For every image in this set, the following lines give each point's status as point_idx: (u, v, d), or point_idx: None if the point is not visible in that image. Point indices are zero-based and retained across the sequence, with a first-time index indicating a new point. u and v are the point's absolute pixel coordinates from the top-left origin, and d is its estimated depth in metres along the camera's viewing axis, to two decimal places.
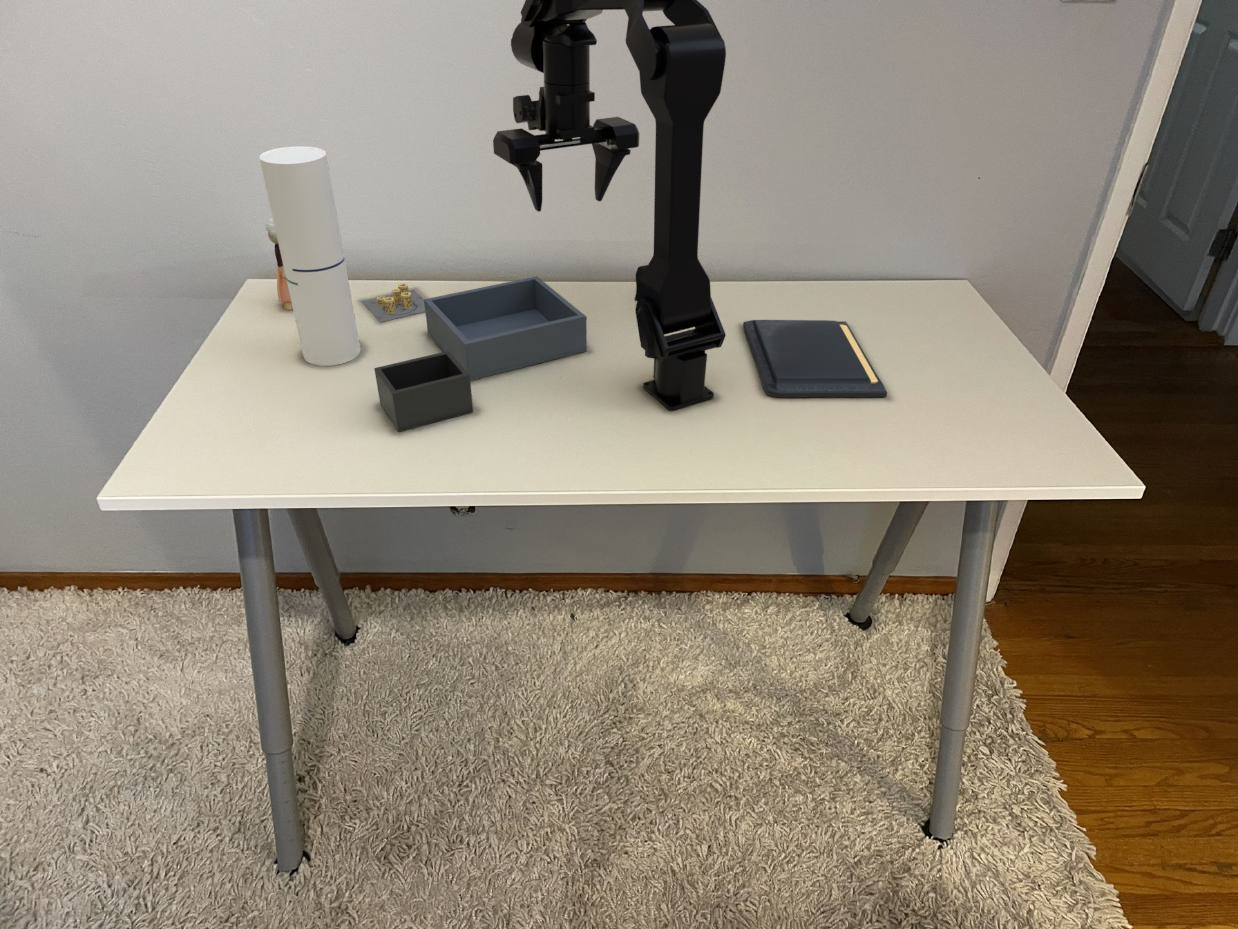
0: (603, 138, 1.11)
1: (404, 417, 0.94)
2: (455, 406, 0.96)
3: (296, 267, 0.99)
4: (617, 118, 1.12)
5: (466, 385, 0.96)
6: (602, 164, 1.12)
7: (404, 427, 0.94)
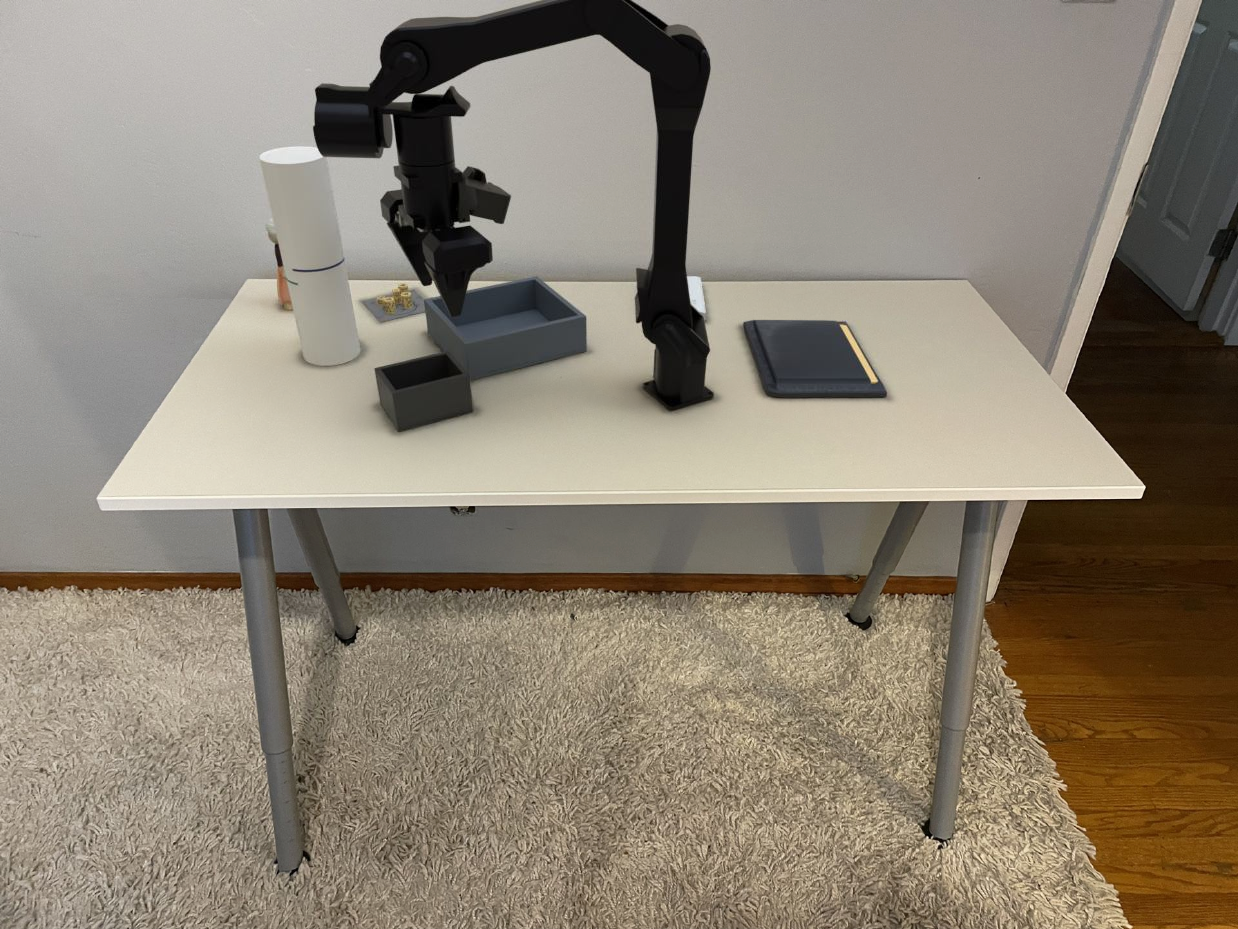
0: None
1: (404, 417, 0.94)
2: (455, 406, 0.96)
3: (296, 267, 0.99)
4: (473, 235, 0.84)
5: (466, 385, 0.96)
6: None
7: (404, 427, 0.94)
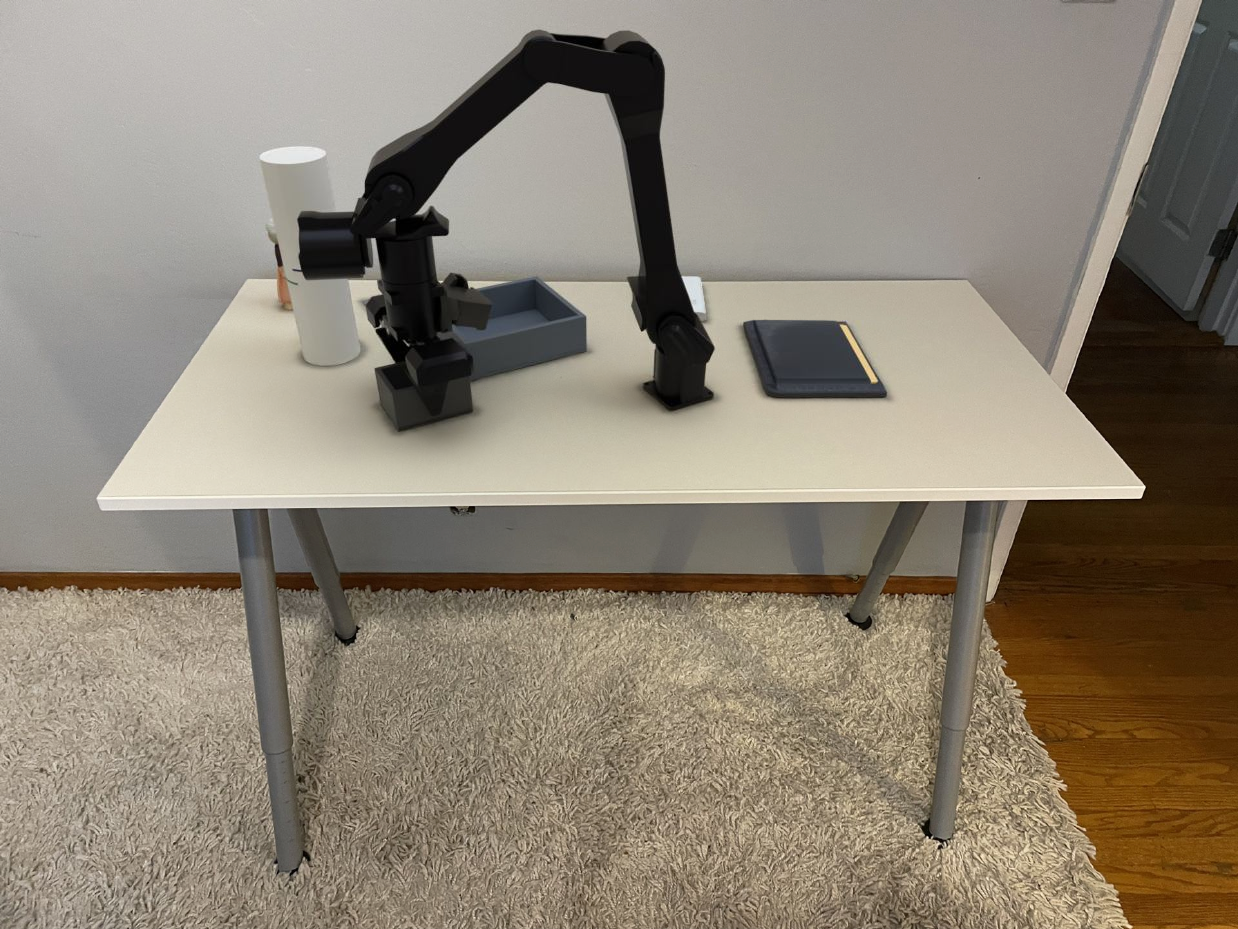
0: None
1: (404, 417, 0.94)
2: (455, 406, 0.96)
3: (296, 267, 0.99)
4: (454, 350, 0.87)
5: (466, 385, 0.96)
6: None
7: (404, 427, 0.94)
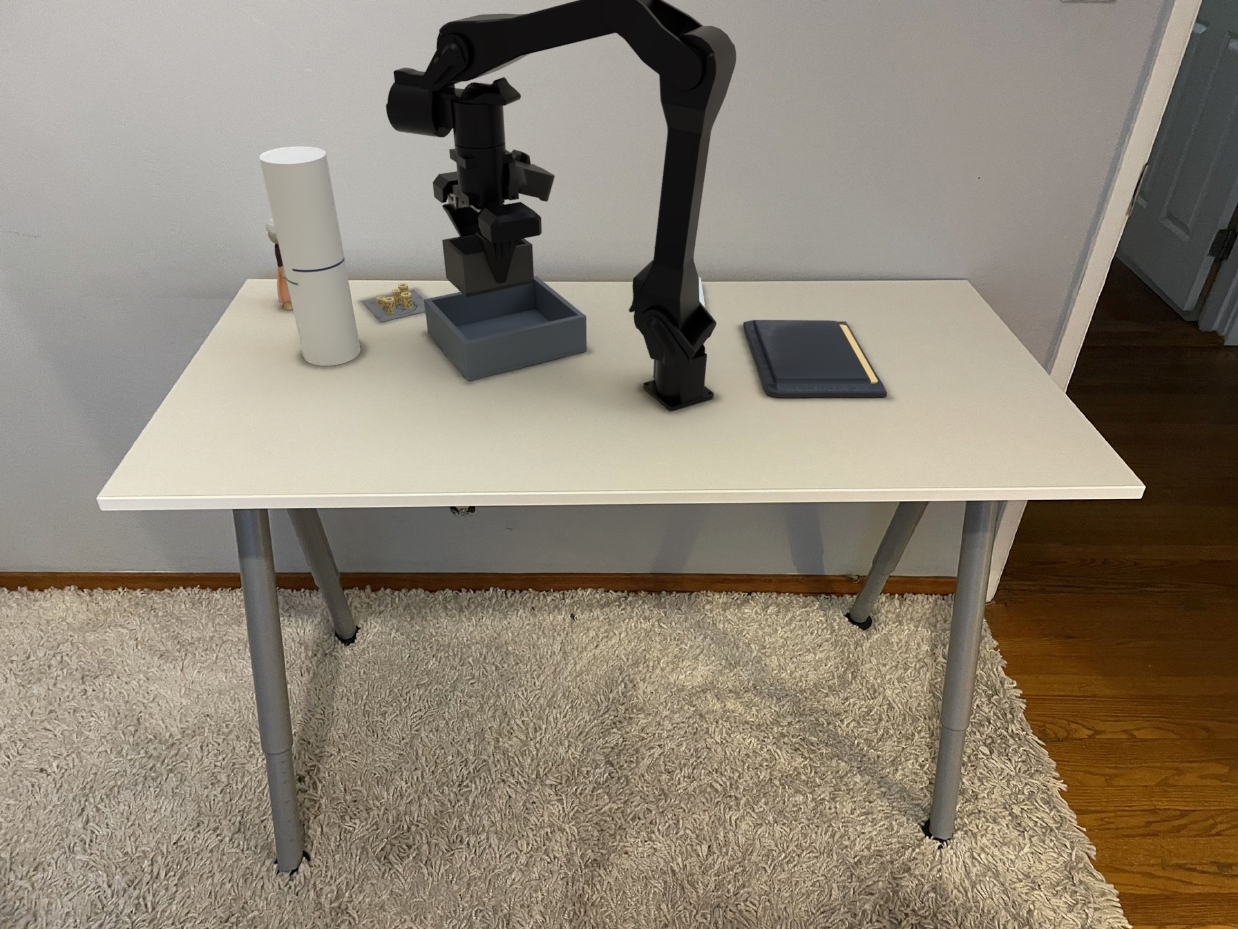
0: None
1: (472, 282, 1.00)
2: (518, 275, 1.02)
3: (296, 267, 0.99)
4: (525, 210, 0.93)
5: (529, 255, 1.02)
6: None
7: (472, 293, 1.00)
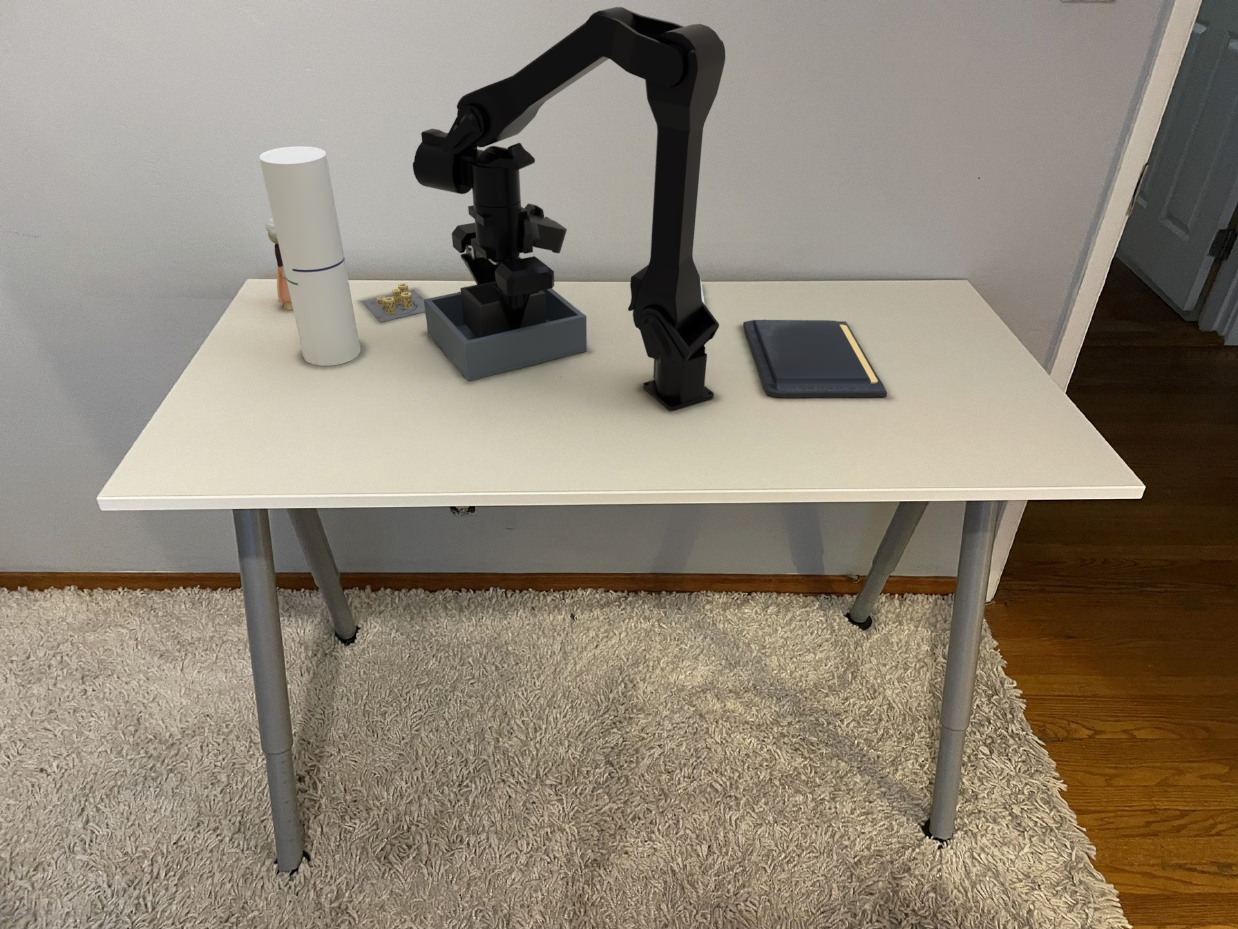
0: None
1: (488, 329, 1.06)
2: (531, 322, 1.09)
3: (296, 267, 0.99)
4: (538, 265, 0.99)
5: (542, 303, 1.08)
6: None
7: None
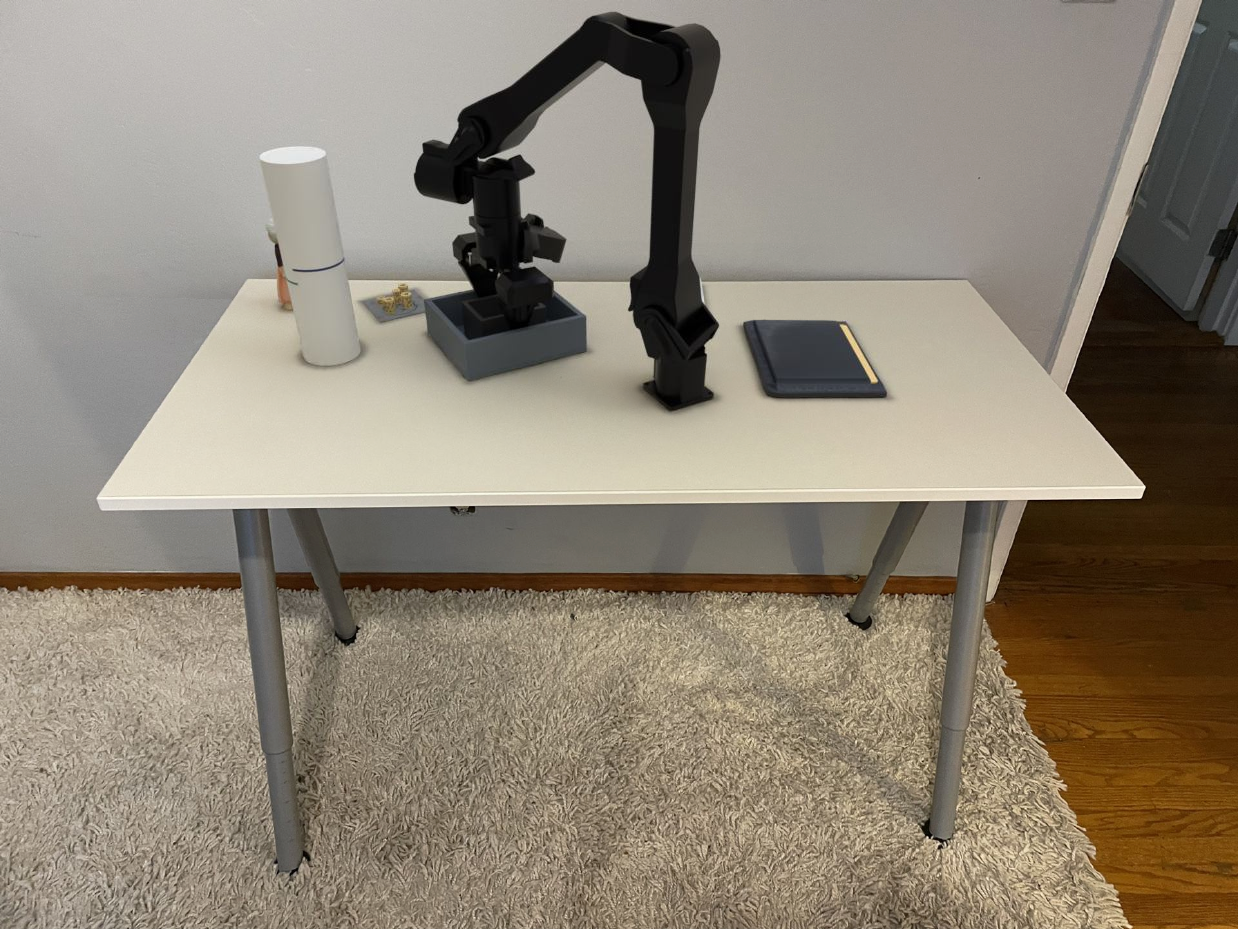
0: None
1: None
2: None
3: (296, 267, 0.99)
4: (538, 275, 1.00)
5: (542, 316, 1.09)
6: None
7: None
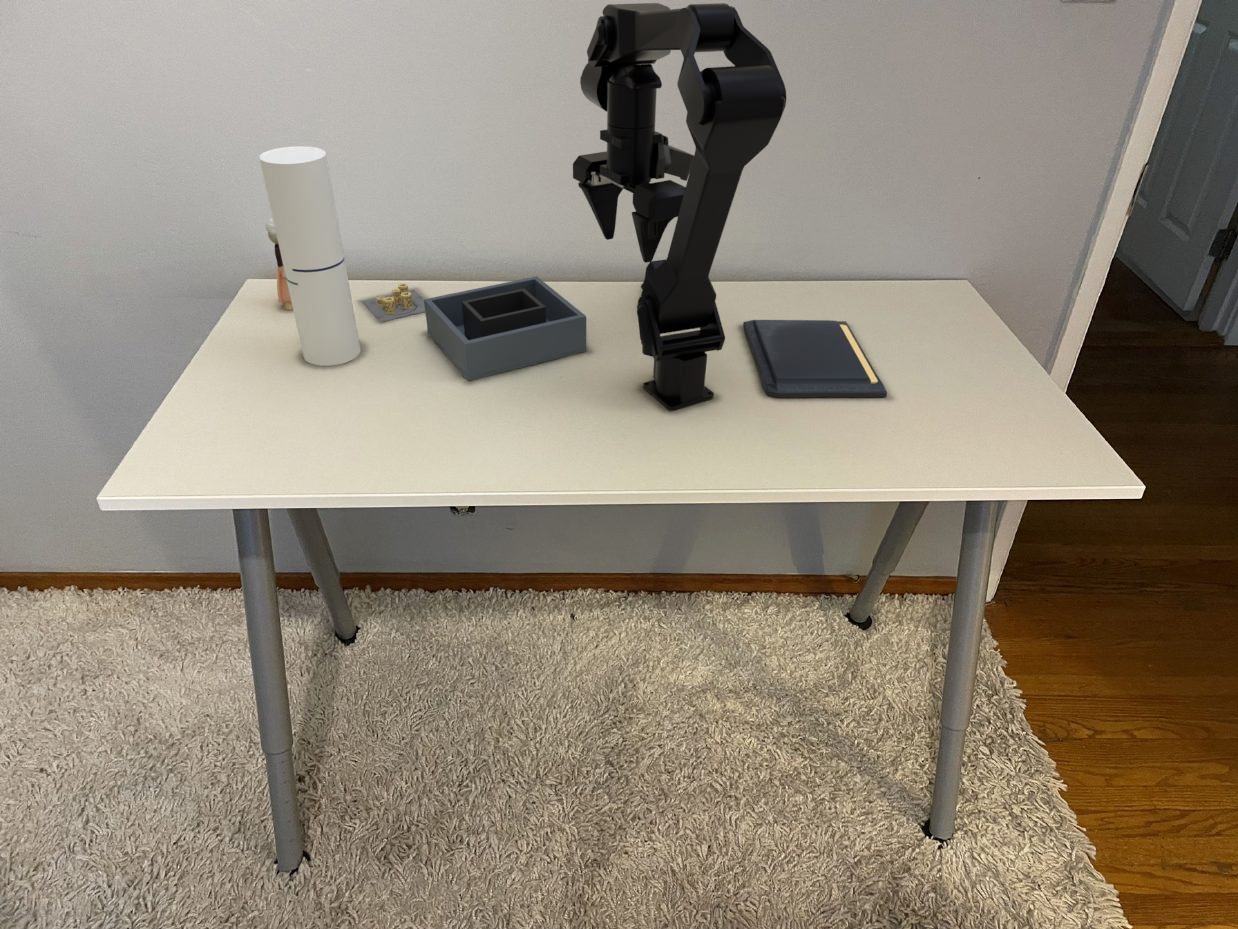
0: None
1: None
2: None
3: (296, 267, 0.99)
4: (678, 187, 0.98)
5: (542, 316, 1.09)
6: None
7: None
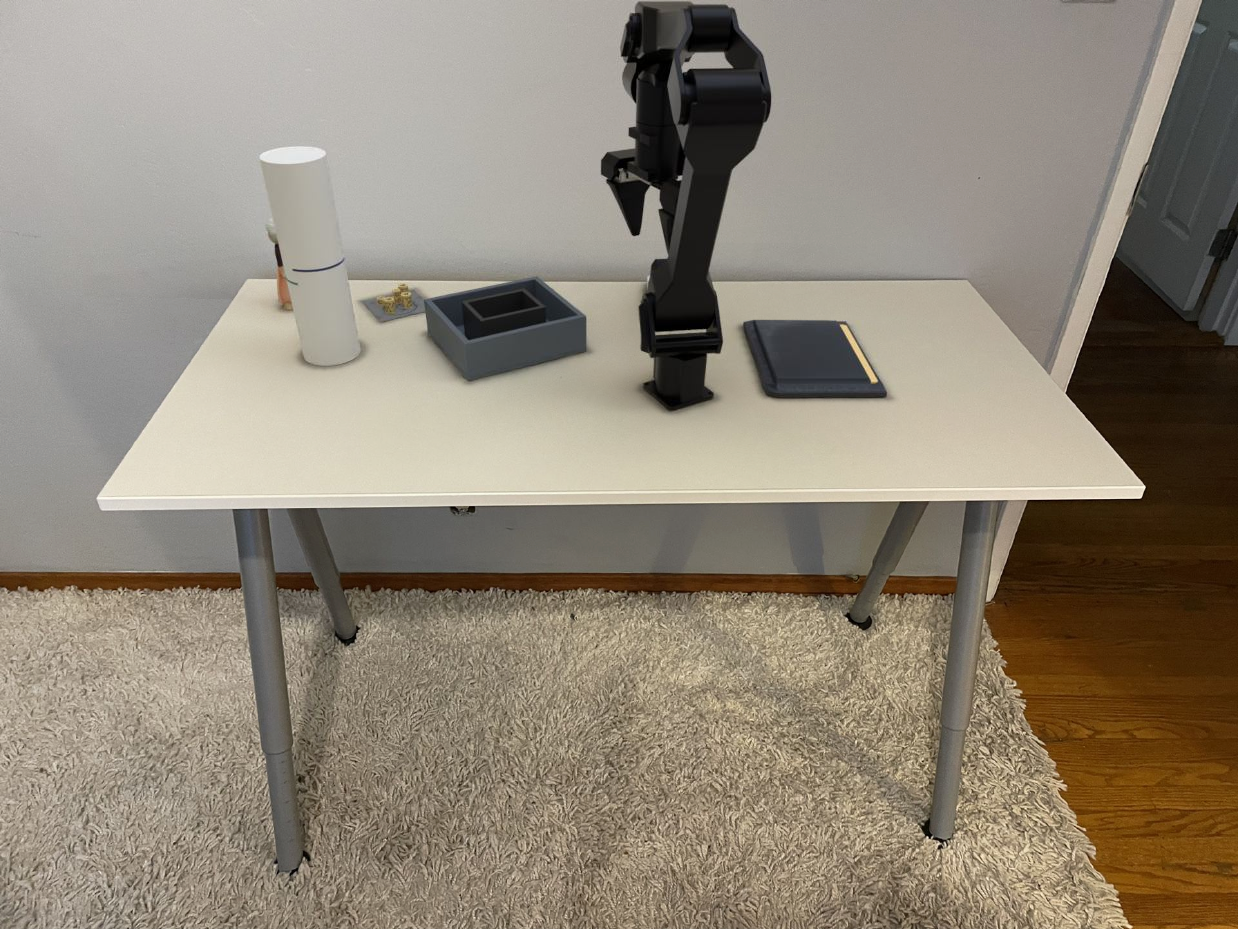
0: None
1: None
2: None
3: (296, 267, 0.99)
4: None
5: (542, 316, 1.09)
6: None
7: None
